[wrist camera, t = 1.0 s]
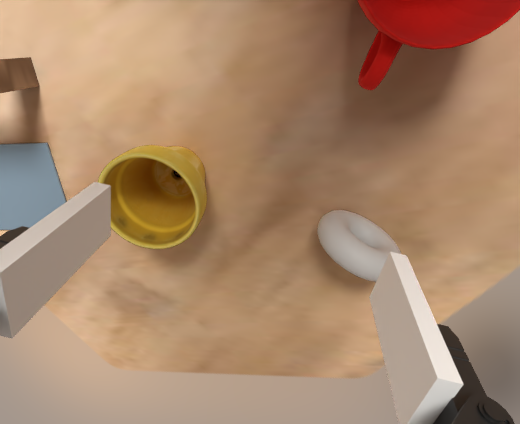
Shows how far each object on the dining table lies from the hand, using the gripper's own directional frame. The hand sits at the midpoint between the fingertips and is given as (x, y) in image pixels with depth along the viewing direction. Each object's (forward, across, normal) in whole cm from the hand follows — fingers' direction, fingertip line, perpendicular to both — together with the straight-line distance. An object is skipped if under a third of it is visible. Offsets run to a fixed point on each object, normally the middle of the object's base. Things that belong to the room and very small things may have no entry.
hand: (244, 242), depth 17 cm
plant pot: (+25, -11, -9) cm, 29 cm away
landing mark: (+25, -31, -16) cm, 43 cm away
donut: (+25, +12, -10) cm, 30 cm away
